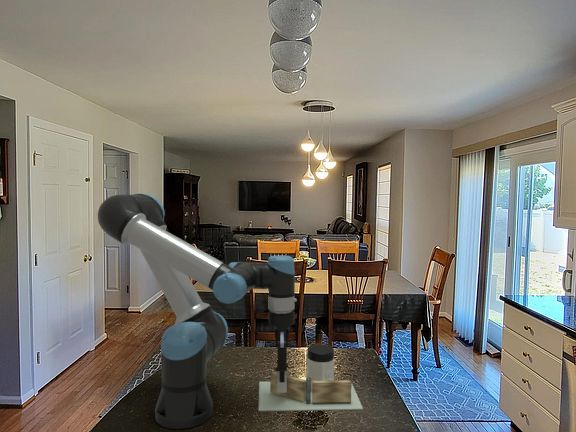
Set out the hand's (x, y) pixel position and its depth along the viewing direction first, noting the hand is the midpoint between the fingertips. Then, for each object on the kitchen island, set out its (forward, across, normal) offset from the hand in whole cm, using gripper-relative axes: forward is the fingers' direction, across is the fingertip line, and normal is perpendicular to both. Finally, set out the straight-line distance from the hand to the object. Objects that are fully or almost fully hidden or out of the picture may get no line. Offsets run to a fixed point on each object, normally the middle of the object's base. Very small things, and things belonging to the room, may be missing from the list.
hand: (281, 391), depth 120 cm
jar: (+3, +8, -12) cm, 14 cm away
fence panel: (+2, +2, -2) cm, 3 cm away
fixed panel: (+3, -1, -14) cm, 14 cm away
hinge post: (+3, -2, -7) cm, 8 cm away
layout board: (+3, +4, -8) cm, 9 cm away
